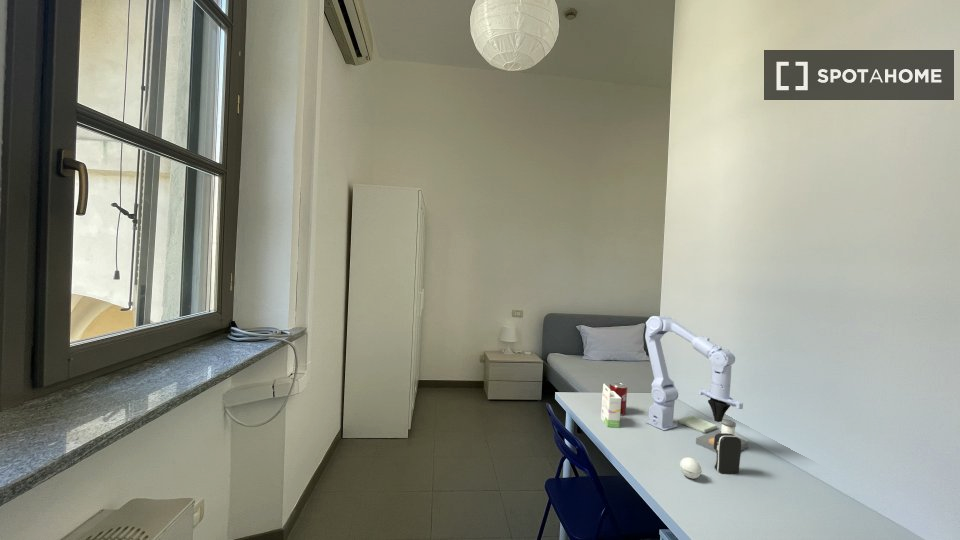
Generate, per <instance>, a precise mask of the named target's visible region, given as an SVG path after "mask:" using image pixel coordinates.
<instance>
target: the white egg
mask: <svg viewBox="0 0 960 540" xmlns="http://www.w3.org/2000/svg"><path fill="white" fill-rule="evenodd" d="M679 469H680V471H681V473H682V474H683V475H684V476H685V477H686V478H688V479H698V478H699V477H700V476H701V474H702V467H701V465H700V463H699V462H698V461H697V460H696V459H694V458H692V457H687V456H686V457H684V458H681V460H680V462H679ZM703 475H705V476H706V474H705V473H703Z"/></svg>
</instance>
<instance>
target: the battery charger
mask: <svg viewBox="0 0 960 540" xmlns="http://www.w3.org/2000/svg"><path fill="white" fill-rule="evenodd" d="M739 438H740V437H738V436H736V435H735V434H734V435H733V434H727V433H719V434H716V435H715V439H714V449H715V450H716V452H715V453H716V462H715V464H714V469H715V470H716V471H717V472H718V473H721V474H739V473H740V462H741V454H742V453H741V452H742V450H741V440H740V439H741V438H740V439H739Z"/></svg>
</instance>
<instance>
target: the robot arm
mask: <svg viewBox="0 0 960 540" xmlns="http://www.w3.org/2000/svg"><path fill="white" fill-rule="evenodd" d="M645 326H646V328H645V334H644V335H645V336H644V337H645V342H646V346H647V350H648V356H649V360H650V365H651V366H650V367H651V369H652V375H653V378H654V379H653V381H652V383H651V390H650V391H651V392H650V395H651V398H652V401H653V404H651V405H650V406H649V408H648V418H647V419H648V420H646V421H645V423H646V424H648V425H651V426H653V427H656V428H658V429H660V430H662V431H668V430H670V429H671V430H672V429H674V428H676V427H678V424H676V423H674V415H675V412H674V411H675V404H676V403H675V401H677V400H678V398H679V390H678V389H677V388H676V386H675V383H674V381H673V380H672V379H671V378H670V375H669V372H668V367H667V364H666V359H665V356H664V350H663V347H662V342H661V339H662V337H664V335H665V334H667V333H668V332H669V333H672V332H673V333H675V334H676V336H677V335H678V336H679V337H681V338H682V339H684V340H685V341H687V342H689V343H691V345H692V349H694V350H695V351H697V352H698V353H699V354H701V355H702V356H704V357H705V358H707V359H709V362H710V363H711V366H712V367H711V377H710V379H711V381H710V390H708V389H704V388H699V389H698V391H697V393H698V395H699V396H700V395H701V396H703V397H706V398H710V399H708V400H707V403H708V404H709V407H710V409H711V411H712V416H713V419H714V422H717V423H721V422H722V419H724V416H725V414H726V413H727V411H728V410H729V408H730V407H733V408H735V409H737V410H743V409H744V403H743V402H742V401H739V400H736V399H735V398H732V397H731V395H730V394H731V383H732V382H731V381H732V380H731V379H732V366H733V364H734V363H735V362H736V356H735V354H734V353H733V352H732V351H731V350H730V349H726V348H723V346H720V345H717V344H716V343H714V342H712V341H711V340H710V338H709V337H708V336H702V335H701V336H697V335H696V333H695V334H694V333H693V332H692V331H691V330H689V329H688V328H686V327H685V326H684V325H683V324H681V323H680V322H678V321H677V319H675V318H672V317H671V316H670V315H660V316H659V315H657V316H656V315H652V316H650V317H649V318H648V320H647V321H645Z"/></svg>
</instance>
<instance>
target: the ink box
mask: <svg viewBox="0 0 960 540" xmlns="http://www.w3.org/2000/svg"><path fill="white" fill-rule="evenodd" d="M601 397H602V398H601V407H600V408H601V411H600V419H601V421H603V422H604V424H605V425H606V427H608V428H618V429H619V428H620V423H621V422H620V421H621V415H620V409H621V397H619V396H618V395H617V394H616V393H615V392H614V391H610V389H609V386H607V385H606V383H603V385H602V396H601Z"/></svg>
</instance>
